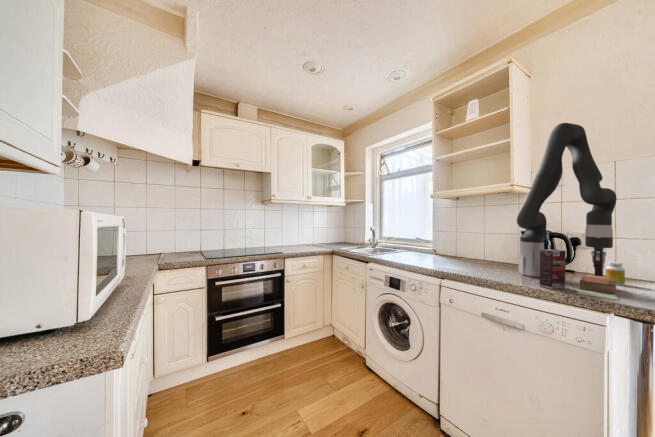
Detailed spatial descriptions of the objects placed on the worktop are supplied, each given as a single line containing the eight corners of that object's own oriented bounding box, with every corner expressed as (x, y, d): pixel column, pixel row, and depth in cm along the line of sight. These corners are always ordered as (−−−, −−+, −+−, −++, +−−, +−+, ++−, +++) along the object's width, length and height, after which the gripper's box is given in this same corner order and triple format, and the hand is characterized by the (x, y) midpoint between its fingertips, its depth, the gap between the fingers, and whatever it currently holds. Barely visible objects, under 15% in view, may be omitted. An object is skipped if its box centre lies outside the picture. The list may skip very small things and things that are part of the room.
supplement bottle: (619, 286, 103) (619, 263, 103) (602, 282, 108) (602, 261, 108) (628, 285, 104) (628, 263, 104) (611, 282, 109) (611, 261, 109)
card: (586, 279, 98) (586, 274, 98) (609, 282, 93) (609, 277, 93) (585, 281, 95) (585, 276, 95) (608, 284, 90) (608, 279, 90)
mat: (577, 293, 91) (577, 292, 91) (577, 290, 96) (577, 289, 96) (617, 300, 84) (617, 299, 84) (615, 295, 89) (615, 295, 89)
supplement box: (552, 289, 97) (552, 251, 97) (538, 286, 101) (538, 249, 101) (566, 288, 99) (566, 250, 99) (552, 284, 104) (552, 248, 104)
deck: (584, 284, 105) (584, 275, 105) (615, 289, 98) (615, 279, 98) (579, 289, 96) (579, 280, 96) (614, 295, 89) (614, 284, 89)
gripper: (586, 234, 105) (586, 273, 105) (583, 236, 97) (583, 278, 96) (613, 235, 99) (613, 277, 99) (612, 237, 91) (612, 282, 91)
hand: (598, 277), depth 98 cm, fingers closed
